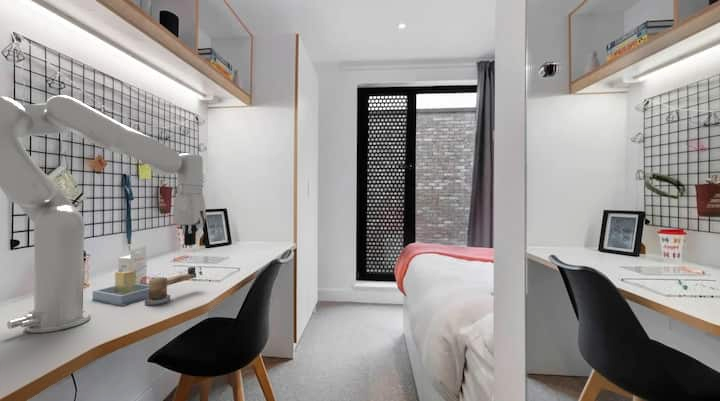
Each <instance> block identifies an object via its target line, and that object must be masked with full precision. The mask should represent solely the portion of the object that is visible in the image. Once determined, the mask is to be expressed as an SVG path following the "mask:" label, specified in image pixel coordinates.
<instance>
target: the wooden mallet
mask: <svg viewBox="0 0 720 401" xmlns="http://www.w3.org/2000/svg"><path fill="white" fill-rule="evenodd" d="M195 278H197V272H196V267H195V266H190V267H188V268H187V273H183V274H180V275H176V276H173V277H168V278H167V277H164V276H163V277H160V276H159V277H154V278H150V279H149V280H148V285H149V299H160V298H164V297H166V296H167V294H168V286H170V285H171V286H172V285H173V284H177V283H182V282H184V281H189V280H192V279H195Z"/></svg>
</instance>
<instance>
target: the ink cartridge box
mask: <svg viewBox="0 0 720 401" xmlns="http://www.w3.org/2000/svg"><path fill="white" fill-rule="evenodd" d="M138 251H140V252H138ZM117 265H118V267H117V268H118V269H117V270H118V271H117V272H120V271H125V270H131V271H136V283H137V284H143V285H146V284H147V271H148V270H147V266H148V265H147V246H142V247H136V248H132V249H130V250H129V254H128V255H125V256H121V257H118V264H117Z"/></svg>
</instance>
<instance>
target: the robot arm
mask: <svg viewBox="0 0 720 401" xmlns="http://www.w3.org/2000/svg"><path fill="white" fill-rule="evenodd" d="M63 133H71V134H74V135H76V136H78V137H80V138H82V139H84V140H86V141H88V142H91V143H93V144H94V145H96V146H98V147H100V148H102V149H104V150H108V151H110V152H113V153H116V154H117V153H118V154H123V155H126V156H128V157H132V158H134V159H136V160H138V161H140V162H142V163H144V164H146V165H148V167H149V170H151V171H152V172H153V173H155V174H157V175H161V176H164V175H165V176H167V175H177V176H176V177H177V183H176V184H177V188H176V190H177V191H176V192H177V194H175V197H174V201H173V208H172V210H173V211H172V222H173V223H174V224H176V227H178V228H180V229H181V230H182V233H183V234H184V235H183V237H184V238H183V245H184V246H189V247H190V246H194V245H196V242H197V241H196V240H197V237H196V236H197V233H198V230H199V229H202V228H204V227H205V226H204V225H205V223H206V217H207V216H206V201H205V195H203V194H204V193H203V191H204V182H203V181H204V171H203V168H204V164H203V163H204V160H203V158H204V157H203V156H202V155H200V154H197V153H187V152H186V153H179V152H177V151H176V150H174V149H172V148H171V147H170V146H167V145H166V144H164V143H162V142H160V141H158V140H157V139H155V138H153V137H150V136H149V135H146V134H144V133H142V132H139V131H137V130H135V129H133V128H131V127H129V126H127V125H124V124H122V123H120V122H118V121H117V120H115V119H113V118H111V117H109V116H107V115H105V114H104V113H101V112H100V111H98V110H96V109H94V108H92V107H90V106H89V105H87V104H85V103H83V102H82V101H80V100H77V99H76V98H73V97H71V96H68V95H65V94H64V95H62V94H60V95H58V94H57V95H54V96H52V97H50V98H48V99H47V100H46V102H45V103H35V104H32V103H31V104H20V102H17V101H15V100H14V99H12V98H9V97H7V96H2V95H0V189H1V190H2V192H3V194H5V196H6V198H7V199H8V200H9V201H10V202H12V203H13V204H15V205H17V206H18V207H19V208H20V209H21V210H22V211H23V212H24V214H25V215H26V216H27V217H28V219H30V220H31V222H33V225H34V226H33V241H34V243H33V244H34V246H33V247H34V248H33V249H34V251H33V252H34V264H33V265H34V288H33V290H34V292H33V294H34V298H33V299H34V303H33V304H34V305H33V306H34V307H33V308H34V309H32V310H29V311H28V314H26V315H24V317H20V318H16V319H12V320H8V321H7V322H6V323H7V324H6V327H7V328H8V329H9V330H11V329H15V328H18V327H21V328H24V329H25V331H26V332H27V333H34V334H35V333H37V334H38V333H40V334H41V333H49V332H57V331H63V330H66V329H69V328H73V327H76V326H77V327H78V326H79V325H81V324H84V323H86V322H87V321H89V320H90V319H91V313H90V311H86V310H84V263H85V262H84V252H85V250H84V249H85V248H84V246H85V244H84V243H85V232H86V231H85V230H86V229H85V226H86V225H85V220H84V217H83V215H82V214H81V213H80V211H79V210H78V209H77V207H75V206H74V203H72V201H71V200H70V199H69V198H68V197H67V195H66V194H65V192H63V190H62V189H61V188H60V186H59V185H58V184H57V182H55V181H54V180H53V178H52V177H50V175H48V174H46V173H45V172H44V171H43V170H42V169H41V168H40V167H39V165H38V164H37V163H36V161H35V160H34V159H33V158H32V156H31V155H30V154H29V152H28V151H27V149H26V148H25V147H24V146H23V144H22V143H21V142H20V140H19V139H18V138H24V137H33V136H44V135H45V136H46V135H55V134H56V135H57V134H63Z"/></svg>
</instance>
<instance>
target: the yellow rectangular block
mask: <svg viewBox="0 0 720 401" xmlns="http://www.w3.org/2000/svg"><path fill="white" fill-rule="evenodd" d="M114 276H115V278H114V286H115V294H118V295H125V294H128V293H132V292H135V287H136V271H131V270H125V271H120V272H118V271H116V272H115V273H114Z"/></svg>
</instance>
